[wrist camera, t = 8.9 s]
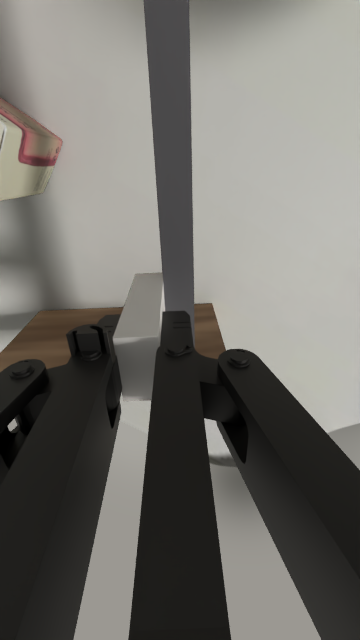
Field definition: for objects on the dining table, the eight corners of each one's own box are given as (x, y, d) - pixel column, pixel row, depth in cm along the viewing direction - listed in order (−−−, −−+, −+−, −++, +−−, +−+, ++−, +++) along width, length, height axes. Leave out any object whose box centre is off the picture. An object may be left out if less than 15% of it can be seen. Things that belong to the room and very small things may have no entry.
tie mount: (-114, -215, 14) (-540, -789, 6) (219, -229, 14) (289, -821, 6) (45, 329, 28) (-9, 397, 19) (211, 322, 28) (228, 386, 19)
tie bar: (71, -772, 6) (10, -1347, 3) (194, -779, 6) (207, -1355, 3) (164, 388, 19) (163, 415, 17) (200, 386, 19) (204, 413, 17)
